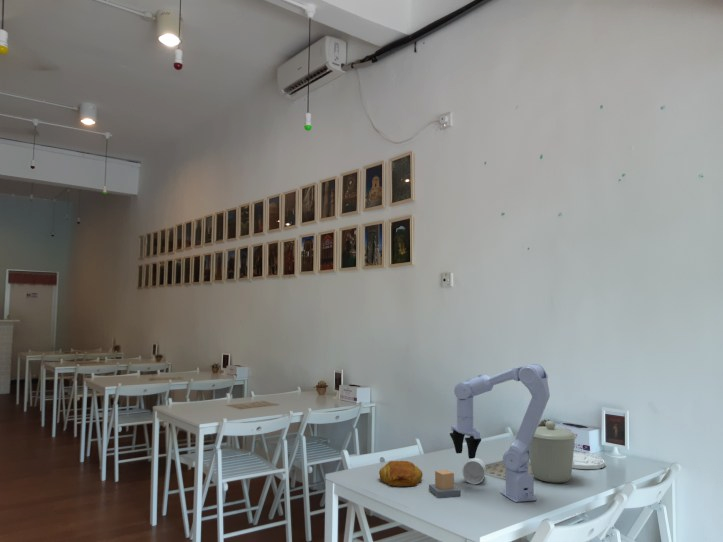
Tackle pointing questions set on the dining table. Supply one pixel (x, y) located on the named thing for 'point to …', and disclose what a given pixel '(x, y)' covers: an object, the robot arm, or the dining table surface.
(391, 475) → the croissant
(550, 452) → the canister
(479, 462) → the white cup
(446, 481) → the tan rectangular block
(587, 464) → the embossed medallion
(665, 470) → the dining table surface
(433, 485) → the slate coaster
